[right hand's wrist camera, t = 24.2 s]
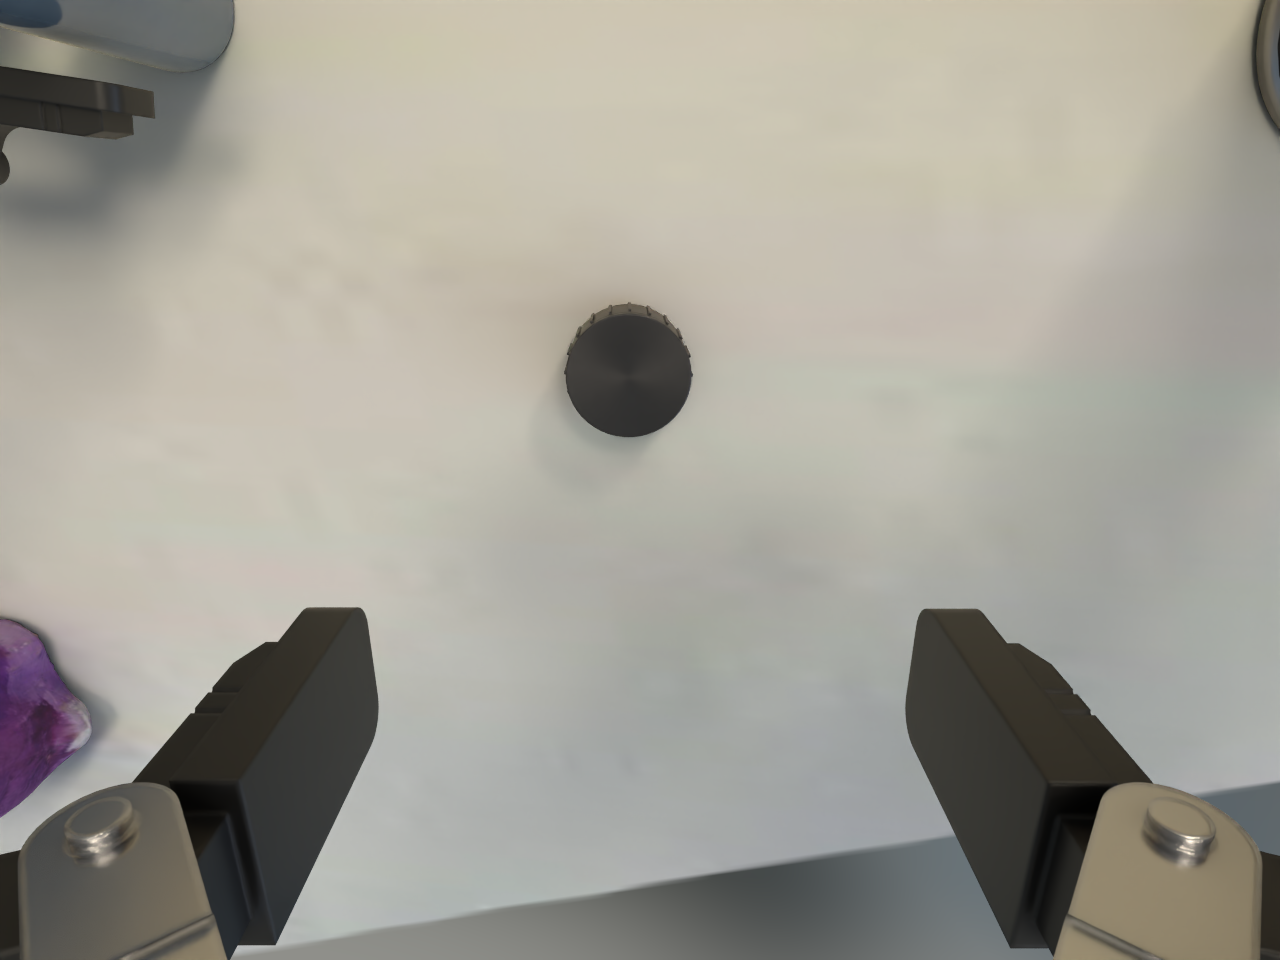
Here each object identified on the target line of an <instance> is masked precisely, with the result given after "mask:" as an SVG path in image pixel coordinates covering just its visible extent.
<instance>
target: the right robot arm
mask: <svg viewBox="0 0 1280 960" xmlns="http://www.w3.org/2000/svg"><path fill="white" fill-rule="evenodd" d="M1256 61H1257V74H1258V80H1259V86H1260V90H1261V94H1262V97H1263V100H1264V103H1265V105H1266V108H1267V110H1268V112H1269V114H1270V116H1271V118H1272V120H1273V121H1274V123H1275V124H1276V125H1277V127H1278V128H1279V130H1280V0H1265V4H1264V7H1263V11H1262V15H1261V19H1260V24H1259V30H1258V38H1257V53H1256ZM905 709H906V723H907V729H908V734H909V738H910V741H911V743H912V746H913V748H914V750H915V752H916V754H917V756H918V758H919V760H920V762H921V765H922V767H923V769H924V771H925V773H926V775H927V777H928V779H929V781H930V783H931V785H932V787H933V789H934V791H935V793H936V796H937V798H938V800H939V802H940V804H941V806H942V808H943V810H944V812H945V814H946V816H947V818H948V820H949V822H950V824H951V827H952V829H953V831H954V833H955V835H956V837H957V839H958V841H959V843H960V845H961V847H962V849H963V851H964V853H965V855H966V857H967V860H968V862H969V864H970V866H971V868H972V870H973V872H974V874H975V876H976V878H977V880H978V882H979V884H980V886H981V888H982V891H983V893H984V895H985V897H986V899H987V901H988V903H989V905H990V907H991V909H992V911H993V913H994V915H995V917H996V919H997V921H998V923H999V926H1000V928H1001V930H1002V932H1003V934H1004V936H1005V938H1006V940H1007V942H1008V944H1009V946H1010V948H1049V950H1050V951H1051V953H1052V955H1053V960H1280V856H1278V855H1273V854H1269V853H1265V852H1262V851H1259V849H1258V847H1257V845H1256V844H1255V842H1254V841H1253V839H1252V838H1251V836H1250V835H1249V834H1248V833H1247V832H1246V831H1245V830H1244V828H1242V827H1241V826H1240V825H1239V824H1238V823H1237V822H1236V821H1235V820H1233V819H1232V818H1231V817H1230V816H1228V815H1227V814H1225V813H1224V812H1223V811H1221V810H1220V809H1218V808H1216V807H1215V806H1213V805H1211V804H1210V803H1208V802H1206V801H1204V800H1202V799H1200V798H1198V797H1196V796H1193V795H1191V794H1188V793H1186V792H1184V791H1181V790H1177V789H1174V788H1171V787H1167V786H1163V785H1159V784H1153V782H1152V781H1151V780H1150V779H1149V778H1148V777H1147V775H1146V774H1145V773H1144V772H1143V771H1142V770H1141V768H1140V767H1139V766H1138V765H1137V764H1136V763H1135V761H1134V760H1133V759H1132V758H1131V757H1130V756H1129V754H1128V753H1127V752H1126V751H1125V750H1124V749H1123V747H1122V746H1121V745H1120V744H1119V743H1118V742H1117V740H1116V739H1115V738H1114V737H1113V736H1112V735H1111V733H1110V732H1109V731H1108V730H1107V729H1106V728H1105V726H1104V725H1103V724H1102V723H1101V722H1100V720H1099V719H1098V718H1097V717H1096V716H1095V715H1091V713H1090V709H1089V708H1088V706H1087V705H1086V704H1085V703H1084V702H1083V701H1082V699H1081V698H1080V697H1079V696H1078V695H1077V694H1073V689H1072V688H1071V687H1070V685H1069V684H1068V683H1067V682H1066V681H1065V680H1064V678H1063V677H1062V676H1061V675H1060V674H1059V673H1058V671H1057V670H1056V669H1055V668H1054V667H1053V666H1052V664H1050V663H1048V662H1047V661H1045V660H1044V659H1042V658H1041V657H1039V656H1038V655H1036V654H1034V653H1033V652H1031V651H1030V650H1028V649H1027V648H1025V647H1024V646H1022V645H1020V644H1019V643H1006V641H1005V640H1004V639H1003V638H1002V636H1001V635H1000V634H999V633H998V631H997V630H996V629H995V628H994V626H993V625H992V624H991V623H990V621H989V620H988V619H987V618H986V616H985V615H984V614H983V613H982V612H981V611H980V610H978V609H924V610H922V611H921V613H920V615H919V617H918V620H917V625H916V632H915V639H914V646H913V653H912V660H911V667H910V674H909V681H908V688H907V695H906V707H905ZM377 721H378V693H377V686H376V679H375V672H374V665H373V658H372V651H371V643H370V636H369V629H368V623H367V618H366V615H365V613H364V611H363V610H362V609H361V608H358V607H309V608H306V609H304V610H303V611H302V612H301V613H300V615H299V616H298V617H297V618H296V620H295V621H294V622H293V623H292V625H291V626H290V627H289V629H288V630H287V631H286V632H285V634H284V635H283V636H282V637H281V639H280V640H279V641H278V642H265V643H264V644H262V645H260V646H259V647H257V648H256V649H254V650H253V651H251V652H250V653H248V654H247V655H245V656H243V657H242V658H240V659H239V660H237V661H236V662H234V663H233V664H232V665H231V666H230V668H229V669H228V670H227V671H226V672H225V673H224V675H223V676H222V677H221V678H220V679H219V681H218V682H217V683H216V684H215V685H214V686H213V690H212V693H208V694H207V695H206V696H205V697H204V698H203V699H202V701H201V702H200V703H199V704H198V705H197V706H196V708H195V713H191V714H190V715H189V716H188V717H187V718H186V719H185V721H184V722H183V723H182V724H181V725H180V727H179V728H178V729H177V730H176V731H175V732H174V734H173V735H172V736H171V737H170V738H169V740H168V741H167V742H166V743H165V744H164V745H163V747H162V748H161V749H160V750H159V751H158V753H157V754H156V755H155V756H154V757H153V758H152V760H151V761H150V762H149V763H148V764H147V765H146V767H145V768H144V769H143V770H142V771H141V773H140V774H139V775H138V776H137V777H136V778H135V780H134V781H133V782H132V783H128V784H121V785H117V786H113V787H109V788H106V789H103V790H99V791H96V792H94V793H92V794H89V795H87V796H84V797H82V798H80V799H78V800H76V801H74V802H72V803H70V804H69V805H67V806H65V807H64V808H62V809H60V810H59V811H57V812H56V813H55V814H53V815H52V816H50V817H49V818H48V819H46V820H45V821H44V822H43V823H42V824H41V825H40V826H39V827H38V828H36V830H35V831H34V832H33V833H32V834H31V835H30V836H29V837H28V839H27V841H26V842H25V844H24V845H23V847H22V849H21V850H19V851H14V852H10V853H6V854H1V855H0V960H230V959H231V957H232V955H233V953H234V951H235V949H236V947H237V945H276V943H277V941H278V939H279V937H280V935H281V933H282V931H283V928H284V926H285V924H286V922H287V920H288V918H289V916H290V914H291V912H292V910H293V908H294V905H295V903H296V901H297V899H298V897H299V895H300V893H301V891H302V889H303V887H304V885H305V882H306V880H307V878H308V876H309V874H310V872H311V870H312V868H313V866H314V864H315V862H316V859H317V857H318V855H319V853H320V851H321V849H322V847H323V845H324V843H325V841H326V839H327V836H328V834H329V832H330V830H331V828H332V826H333V824H334V822H335V820H336V818H337V816H338V814H339V811H340V809H341V807H342V805H343V803H344V801H345V799H346V797H347V795H348V793H349V791H350V788H351V786H352V784H353V782H354V780H355V778H356V776H357V774H358V772H359V770H360V768H361V765H362V763H363V761H364V759H365V757H366V755H367V753H368V751H369V749H370V747H371V744H372V742H373V739H374V736H375V732H376V727H377Z"/></svg>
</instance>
